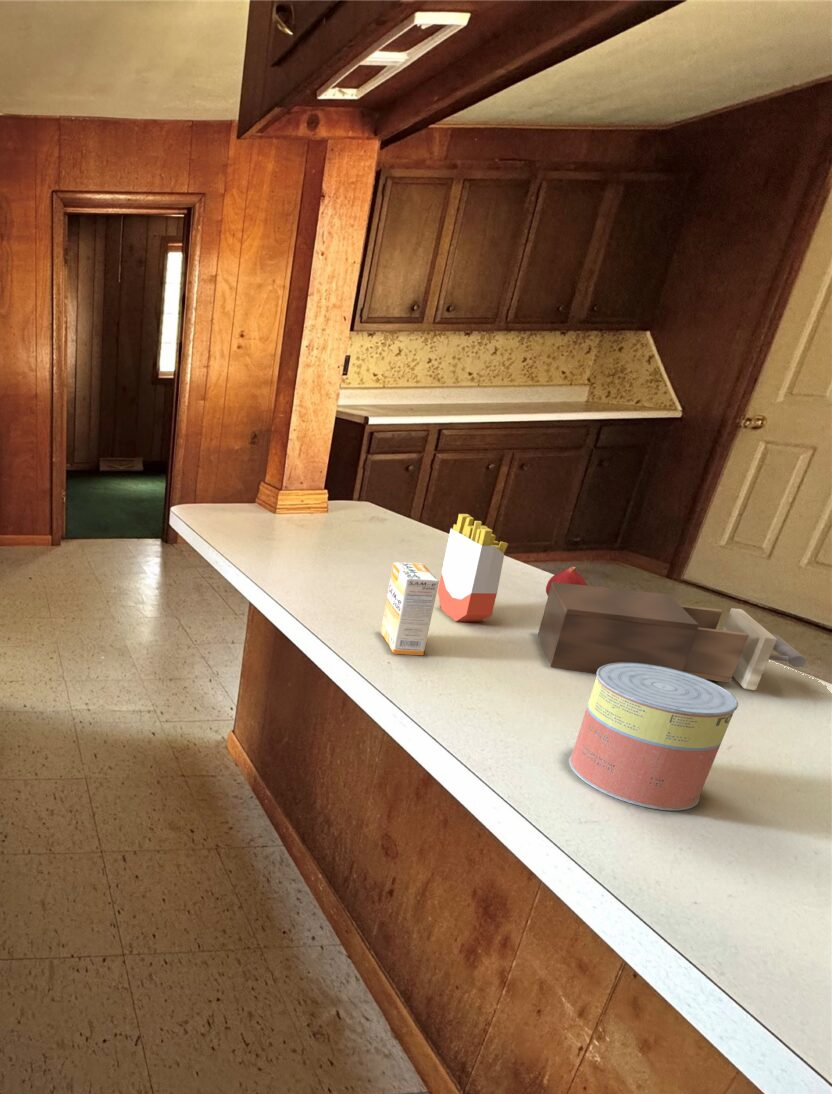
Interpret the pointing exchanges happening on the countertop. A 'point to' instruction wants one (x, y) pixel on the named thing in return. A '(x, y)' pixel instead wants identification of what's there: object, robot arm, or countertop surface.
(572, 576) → the onion
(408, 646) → the supplement box
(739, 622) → the drawer
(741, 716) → the countertop surface
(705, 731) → the canned food
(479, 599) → the french fries container
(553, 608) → the cabinet
